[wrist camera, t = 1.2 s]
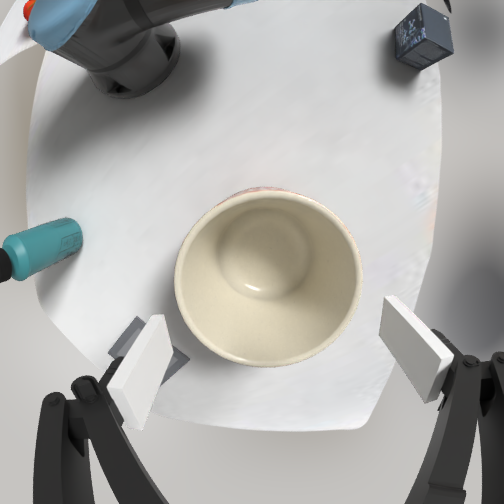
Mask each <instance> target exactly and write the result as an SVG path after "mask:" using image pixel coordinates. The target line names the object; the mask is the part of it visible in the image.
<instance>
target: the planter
mask: <svg viewBox="0 0 504 504" xmlns="http://www.w3.org/2000/svg"><path fill="white" fill-rule="evenodd" d="M362 283H363V276H362V264H361V259H360V254H359V251H358V249H357V246H356V243H355V241H354V239H353V237H352V236H351V234H350V232H349V231H348V229H347V227H346V226H345V225H344V224H343V223H342V222H341V220H340V219H339V218H338V217H337V216H336V215H335V214H333V213H332V212H331V211H330V210H329V209H327V208H326V207H325V206H323V205H321V204H320V203H318V202H316V201H314V200H313V199H310V198H308V197H305V196H302V195H300V194H297V193H294V192H290V191H287V190H284V189H279V188H274V187H257V188H250V189H247V190H244V191H241V192H238V193H236V194H234V195H232V196H230V197H228V198H227V199H225V200H224V201H222V202H221V203H219V204H218V205H216V206H215V207H214V208H212V209H211V210H210V211H208V212H207V213H206V214H204V215H203V216H202V217H201V219H200V220H199V221H198V222H197V223H196V224H195V225H194V226H193V227H192V229H191V230H190V232H189V233H188V235H187V236H186V238H185V239H184V241H183V244H182V246H181V248H180V250H179V253H178V257H177V261H176V265H175V272H174V289H175V297H176V301H177V304H178V308H179V310H180V313H181V315H182V317H183V319H184V321H185V323H186V324H187V326H188V327H189V329H190V330H191V332H192V333H193V334H194V335H195V336H196V338H197V339H198V340H199V341H200V342H201V343H202V344H204V345H205V346H206V347H207V348H209V349H210V350H211V351H213V352H214V353H216V354H218V355H219V356H221V357H223V358H225V359H228V360H230V361H232V362H235V363H239V364H242V365H246V366H253V367H280V366H287V365H291V364H294V363H298V362H301V361H303V360H306V359H308V358H310V357H312V356H314V355H316V354H317V353H319V352H321V351H322V350H324V349H325V348H326V347H328V346H329V345H330V344H331V343H333V342H334V341H335V340H336V339H337V338H338V337H339V336H340V334H341V333H342V332H343V331H344V330H345V328H346V327H347V325H348V324H349V322H350V321H351V319H352V317H353V315H354V313H355V311H356V309H357V306H358V303H359V299H360V296H361V290H362Z"/></svg>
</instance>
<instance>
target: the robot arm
mask: <svg viewBox="0 0 504 504" xmlns="http://www.w3.org/2000/svg"><path fill="white" fill-rule="evenodd" d="M255 1H258V0H36V2H35V4H34V6H33V8H32V10H31V13H30V16H29V20H28V32H29V35H30V37H31V38H32V39H33V40H34V41H35V42H37V43H39V44H40V45H42V46H43V47H44V49H45V50H48V51H51V52H53V53H55V54H57V55H59V56H61V57H63V58H65V59H67V60H69V61H71V62H73V63H75V64H77V65H79V66H81V67H83V68H85V69H86V70H87V71H88V73H89V75H90V77H91V79H92V80H93V82H94V84H95V85H96V87H97V88H98V89H99V90H101V91H102V92H104V93H106V94H108V95H110V96H112V97H115V98H121V99H126V98H133V97H137V96H140V95H142V94H145V93H147V92H149V91H150V90H152V89H154V88H155V87H156V86H158V85H159V84H160V83H161V82H163V81H164V80H165V79H166V78H167V76H168V75H169V74H170V73H171V71H172V70H173V68H174V67H175V65H176V63H177V60H178V58H179V54H180V40H179V37H178V35H177V33H176V32H175V30H174V28H173V27H172V26H171V25H170V24H169V22H172V21H176V20H179V19H182V18H185V17H189V16H193V15H196V14H200V13H204V12H208V11H213V10H217V9H222V8H223V9H229V8H231V7H233V6H236V5H241V4H246V3H251V2H255ZM379 336H380V337H381V339H382V340H383V342H384V343H385V345H386V346H387V347H388V349H389V350H390V352H391V353H392V355H393V356H394V358H395V359H396V361H397V362H398V363H399V365H400V366H401V368H402V369H403V371H404V372H405V374H406V375H407V377H408V378H409V380H410V381H411V383H412V384H413V386H414V388H415V389H416V391H417V392H418V394H419V395H420V397H421V398H422V400H423V402H424V403H428V402H431V401H434V400H437V398H438V396H439V394H440V391H442V392H443V394H444V397H443V400H442V402H441V404H440V406H439V408H438V411H439V410H440V411H439V415H438V418H437V422H436V425H435V428H434V432H433V435H432V438H431V441H430V444H429V447H428V450H427V453H426V455H425V458H424V461H423V463H422V466H421V468H420V471H419V473H418V476H417V478H416V480H415V483H414V485H413V487H412V489H411V491H410V493H409V496H408V498H407V500H406V502H405V504H464V501H465V497H466V491H465V490H463V485H464V481H465V478H466V474H467V470H468V466H469V462H470V458H471V453H472V448H473V443H474V437H475V432H476V424H477V418H478V425H479V433H480V443H481V457H482V504H504V352H495V353H494V354H493V355H492V358H491V360H490V361H485V362H480V360H479V359H478V358H476V357H475V356H472V355H463V354H462V353H461V352H460V351H459V350H458V349H457V348H456V347H455V346H454V345H453V344H452V343H450V341H449V340H448V339H446V337H445V336H444V335H443V334H442V333H441V332H439V331H437V330H435V329H432V330H430V329H429V328H428V327H427V326H426V325H425V324H424V323H423V322H422V321H421V320H420V319H419V318H418V317H417V316H416V315H415V314H414V313H413V312H412V311H411V310H410V309H409V308H408V307H407V306H405V305H404V304H403V303H402V302H401V301H400V300H399V299H398V298H397V297H396V296H395V295H392V296H385V297H384V301H383V309H382V317H381V324H380V331H379ZM172 355H173V348H172V345H171V341H170V337H169V333H168V329H167V325H166V321H165V316H164V314H163V315H152V316H151V317H150V319H149V320H148V322H147V324H146V325H145V327H144V328H143V330H142V331H141V333H140V334H139V336H138V337H137V339H136V340H135V342H134V344H133V345H132V347H131V348H130V350H129V351H128V353H127V355H126V356H125V357H124V356H119V357H118V358H116V359H115V360H114V361H112V363H111V364H110V366H109V367H108V369H107V370H106V372H105V374H104V375H103V377H102V378H101V380H100V381H99V383H98V382H97V380H96V379H95V378H94V377H92V376H87V375H86V376H81V377H79V378H77V379H76V380H75V381H73V383H72V385H71V390H72V392H73V394H74V395H75V397H76V399H75V400H66V398H65V396H64V395H63V394H62V393H60V392H53V393H50V394H48V395H47V396H46V397H45V398H44V400H43V402H42V407H41V412H40V418H39V425H38V432H37V440H36V449H35V460H34V477H33V504H95V501H94V495H93V488H92V480H91V471H90V461H89V447H88V439H90V440H91V442H92V445H93V448H94V450H95V452H96V455H97V458H98V460H99V463H100V465H101V467H102V469H103V472H104V474H105V476H106V478H107V480H108V482H109V485H110V487H111V489H112V491H113V493H114V495H115V497H116V499H117V501H118V502H119V504H169V503H168V502H167V500H166V499H165V498H164V496H163V495H162V493H161V492H160V490H159V489H158V488H157V486H156V485H155V483H154V482H153V480H152V479H151V477H150V476H149V474H148V472H147V471H146V469H145V468H144V466H143V464H142V463H141V461H140V459H139V458H138V456H137V454H136V452H135V451H134V449H133V447H132V446H131V444H130V442H129V440H128V438H127V436H126V434H125V432H124V431H123V429H122V427H121V426H122V424H123V422H125V423H126V425H127V427H128V428H129V429H136V430H143V428H144V426H145V423H146V420H147V418H148V415H149V412H150V410H151V407H152V405H153V402H154V400H155V397H156V394H157V392H158V389H159V387H160V384H161V382H162V379H163V377H164V374H165V372H166V369H167V367H168V364H169V362H170V360H171V357H172Z"/></svg>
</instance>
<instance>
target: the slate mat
mask: <svg viewBox="0 0 504 504" xmlns="http://www.w3.org/2000/svg"><path fill="white" fill-rule="evenodd" d="M145 325H146V323H144V322H143V321H142V320H141V319H140V318H139V317H137V316H136V318H135V319H134V320H133V321H132V323H131V324H130V325H129V326H128V328H127V329H126V330H125V331H124V333H123V334H122V335H121V336H120V338H119V339H118V340H117V342H116V343H115V344H114V345H113V347H112V348H111V349H110V351H109V352H108V354H109V355H111V356H112V357H113V358H114V359H116V358H118V357H119V356H124V357H125V356H126V355H127V353H128V351H129V350H130V348H131V347H132V345H133V344H134V342H135V340H136V339H137V337H138V336H139V334H140V333H141V331H142V330H143V328H144V327H145ZM172 348H173V355H172V357H171V360H170V362H169V364H168V367H167V369H166V372H165V374H164V377H163V379H162V382H161V384H160V386H161V385H162V384H163V383H164V382H165V381H167V380H168V379H169V378H170V377H171V376H172V375H173V374H175V373H176V372H177V371H178V370H179V369H180V368H181V367H182V366H183V365H185V364H186V363H187V362H188V361H189V360H190V358H188V357H187V356H186V355H184V354H183V353H182V352H180V351H179V350H178V349H176V348H175V347H174V346H173V345H172Z"/></svg>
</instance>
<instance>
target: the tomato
mask: <svg viewBox="0 0 504 504" xmlns="http://www.w3.org/2000/svg"><path fill="white" fill-rule="evenodd" d="M35 2H36V0H29V1H28V2H27V3H26V4H25V6H24V9H23V14H24V17H25V19H26V20H27V21H28V20H29V16H30V13H31V10H32V8H33V6H34V4H35Z"/></svg>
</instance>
